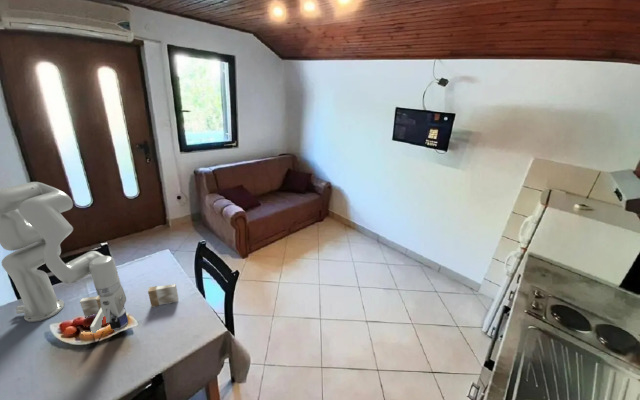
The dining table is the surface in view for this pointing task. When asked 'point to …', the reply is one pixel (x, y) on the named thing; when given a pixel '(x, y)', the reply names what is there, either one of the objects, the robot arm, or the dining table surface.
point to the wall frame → (155, 294)
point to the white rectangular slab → (97, 322)
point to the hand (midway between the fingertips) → (119, 321)
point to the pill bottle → (121, 320)
